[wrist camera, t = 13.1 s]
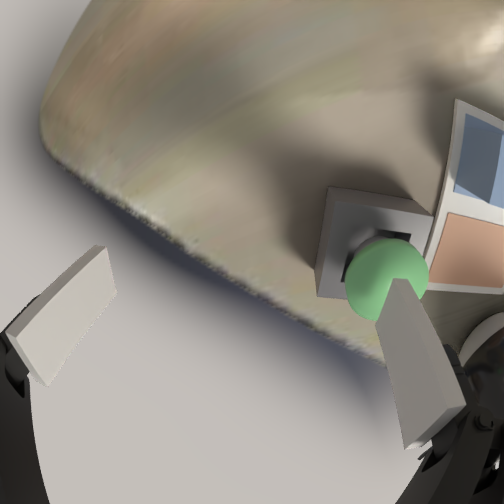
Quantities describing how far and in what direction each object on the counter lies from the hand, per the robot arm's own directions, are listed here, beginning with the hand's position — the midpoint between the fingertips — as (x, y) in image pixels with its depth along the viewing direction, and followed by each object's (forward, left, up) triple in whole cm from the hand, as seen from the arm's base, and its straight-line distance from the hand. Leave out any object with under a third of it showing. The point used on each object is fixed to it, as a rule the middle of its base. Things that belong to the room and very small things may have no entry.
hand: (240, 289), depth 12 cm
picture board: (-4, +18, -7) cm, 19 cm away
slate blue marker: (-7, +17, -7) cm, 20 cm away
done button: (0, +7, -4) cm, 8 cm away
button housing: (0, +7, -7) cm, 10 cm away
